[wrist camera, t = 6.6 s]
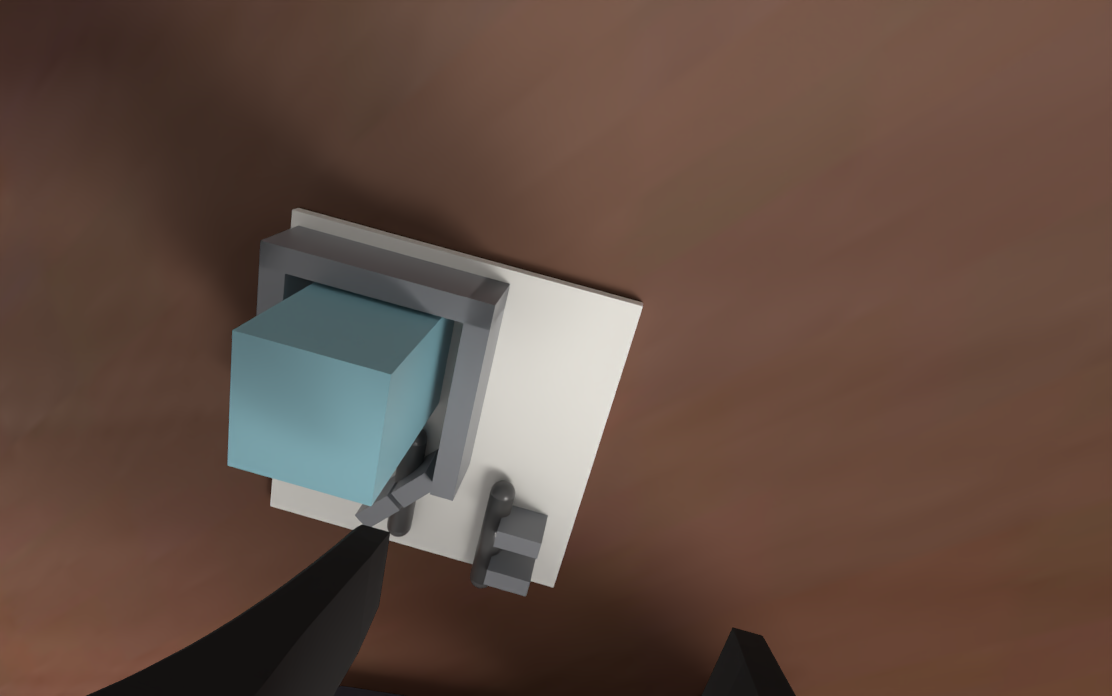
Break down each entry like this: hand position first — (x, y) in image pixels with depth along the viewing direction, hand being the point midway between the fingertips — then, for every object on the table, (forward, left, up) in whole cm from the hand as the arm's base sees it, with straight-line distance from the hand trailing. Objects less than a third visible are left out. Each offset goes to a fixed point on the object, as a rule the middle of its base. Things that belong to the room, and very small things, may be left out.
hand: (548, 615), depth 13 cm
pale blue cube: (+1, +7, -9) cm, 12 cm away
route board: (-2, +5, -10) cm, 11 cm away
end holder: (0, +7, -10) cm, 12 cm away
